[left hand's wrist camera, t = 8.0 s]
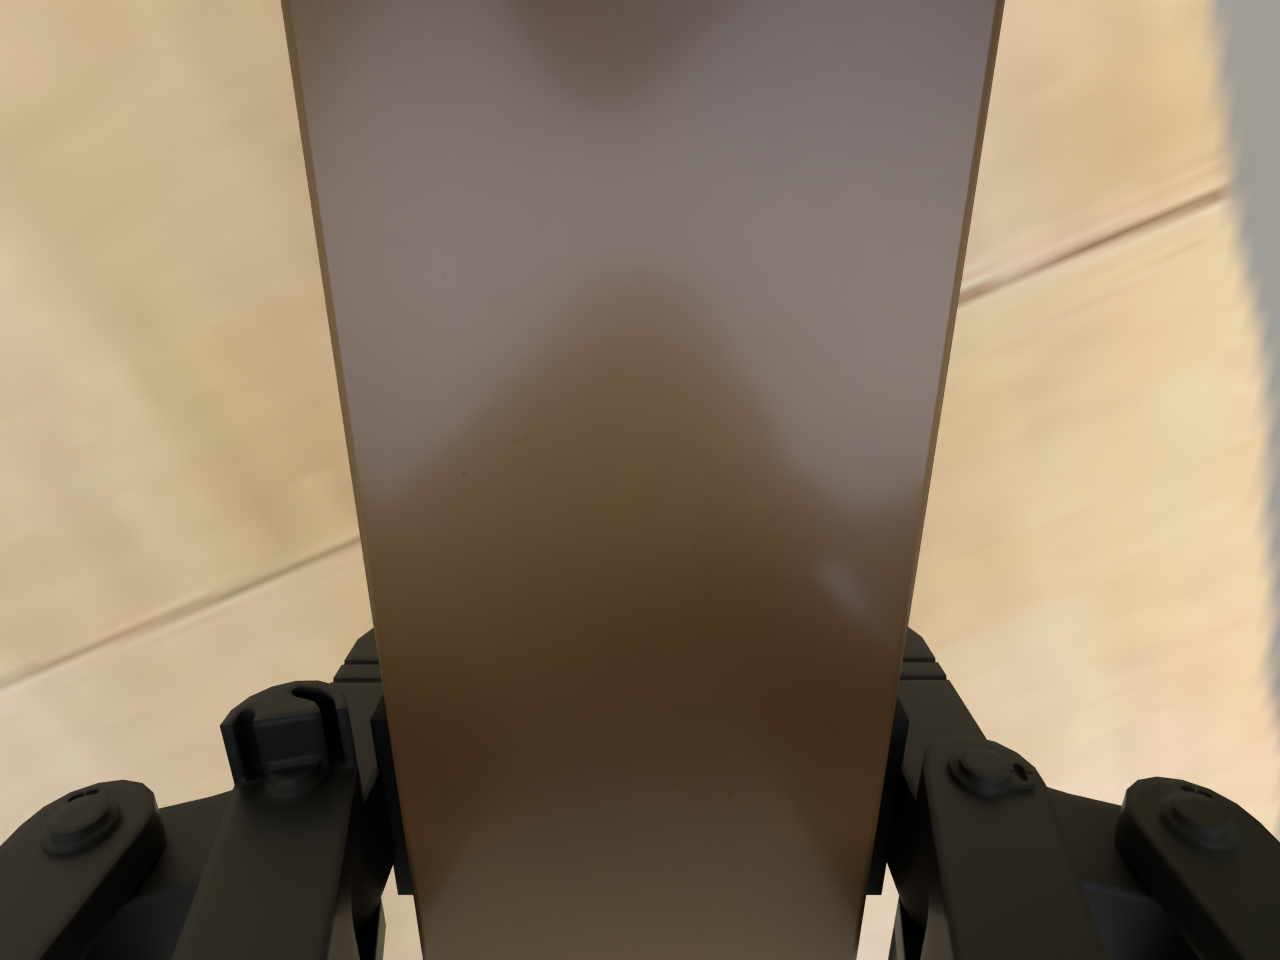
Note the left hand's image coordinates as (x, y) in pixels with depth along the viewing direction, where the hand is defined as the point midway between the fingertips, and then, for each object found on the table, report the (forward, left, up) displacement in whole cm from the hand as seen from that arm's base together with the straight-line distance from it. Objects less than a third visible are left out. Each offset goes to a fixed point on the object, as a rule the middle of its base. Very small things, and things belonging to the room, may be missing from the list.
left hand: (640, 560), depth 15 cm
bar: (+7, +2, -1) cm, 8 cm away
